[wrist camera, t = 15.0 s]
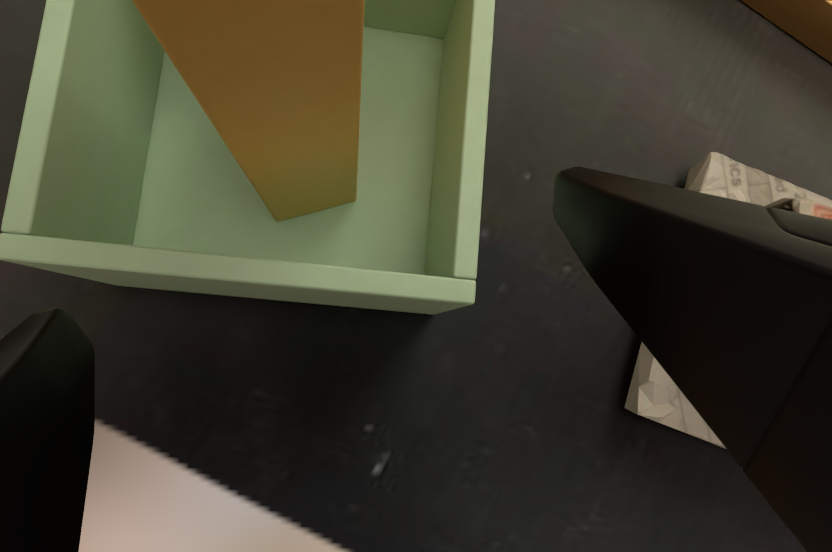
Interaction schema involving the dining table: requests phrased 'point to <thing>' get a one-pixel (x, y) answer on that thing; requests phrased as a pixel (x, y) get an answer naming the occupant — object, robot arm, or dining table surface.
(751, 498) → the dining table surface
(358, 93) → the mustard yellow box
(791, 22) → the picture frame
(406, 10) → the open storage bin
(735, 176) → the packaged product
